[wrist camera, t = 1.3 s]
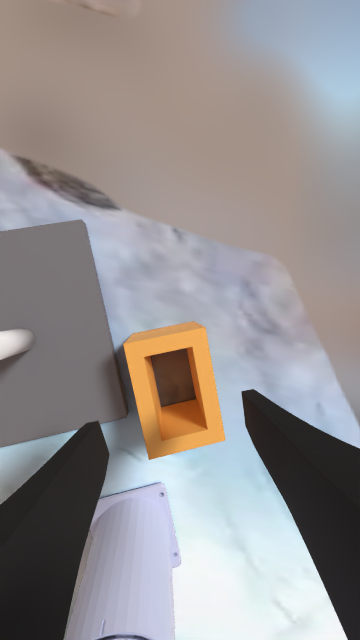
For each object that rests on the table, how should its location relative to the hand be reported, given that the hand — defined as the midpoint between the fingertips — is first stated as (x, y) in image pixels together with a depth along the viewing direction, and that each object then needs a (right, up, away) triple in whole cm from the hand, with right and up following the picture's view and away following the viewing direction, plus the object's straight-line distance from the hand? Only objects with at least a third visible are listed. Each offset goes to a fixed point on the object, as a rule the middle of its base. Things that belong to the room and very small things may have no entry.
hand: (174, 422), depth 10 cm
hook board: (-13, +4, +8) cm, 16 cm away
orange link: (0, 0, +10) cm, 10 cm away
